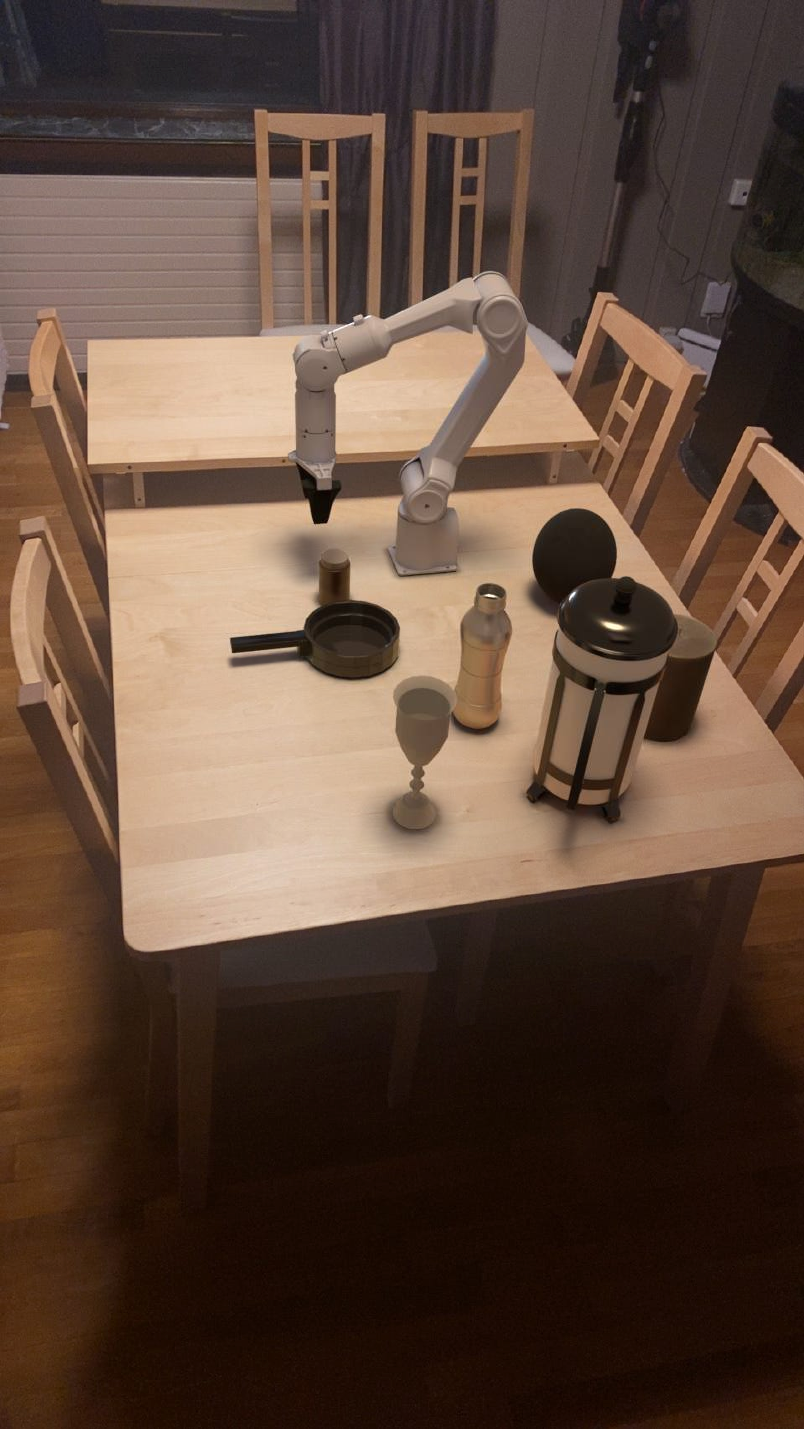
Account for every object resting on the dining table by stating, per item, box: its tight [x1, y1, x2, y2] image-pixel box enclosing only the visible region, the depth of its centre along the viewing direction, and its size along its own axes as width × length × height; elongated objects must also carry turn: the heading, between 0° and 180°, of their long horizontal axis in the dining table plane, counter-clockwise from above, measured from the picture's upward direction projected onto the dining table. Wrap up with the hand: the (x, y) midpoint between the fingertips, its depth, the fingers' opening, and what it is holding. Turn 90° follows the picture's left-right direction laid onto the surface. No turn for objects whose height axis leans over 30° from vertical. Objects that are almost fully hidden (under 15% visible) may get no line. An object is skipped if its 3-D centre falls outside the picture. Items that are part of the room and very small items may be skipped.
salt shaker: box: [318, 548, 351, 606], centre depth 147 cm, size 5×5×8 cm
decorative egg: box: [531, 507, 618, 605], centre depth 148 cm, size 12×12×15 cm
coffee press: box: [525, 575, 678, 822], centre depth 113 cm, size 17×16×30 cm
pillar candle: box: [644, 613, 718, 742], centre depth 129 cm, size 10×10×15 cm
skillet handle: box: [229, 629, 307, 658], centre depth 137 cm, size 10×3×3 cm, turn 104°
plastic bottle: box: [452, 582, 513, 730], centre depth 125 cm, size 6×7×20 cm
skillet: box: [303, 599, 401, 678], centre depth 140 cm, size 13×13×4 cm
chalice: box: [392, 675, 457, 830], centre depth 112 cm, size 7×7×18 cm
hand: (315, 509), depth 151 cm, fingers open, 7 cm apart
